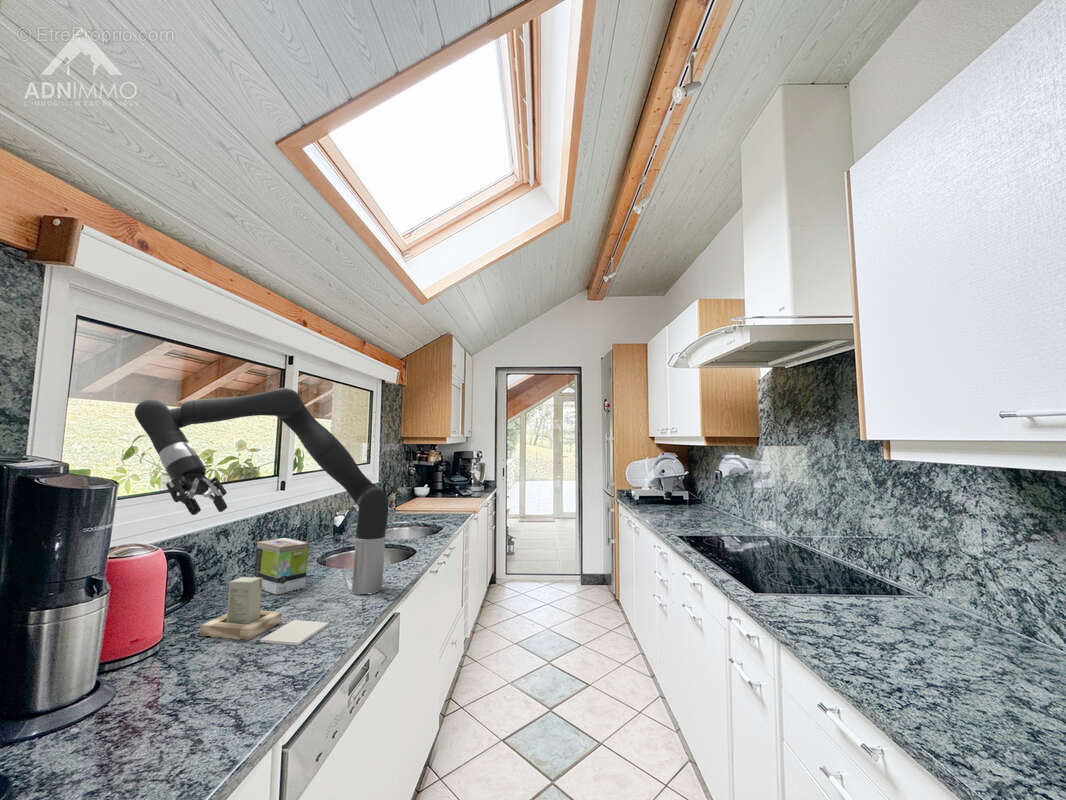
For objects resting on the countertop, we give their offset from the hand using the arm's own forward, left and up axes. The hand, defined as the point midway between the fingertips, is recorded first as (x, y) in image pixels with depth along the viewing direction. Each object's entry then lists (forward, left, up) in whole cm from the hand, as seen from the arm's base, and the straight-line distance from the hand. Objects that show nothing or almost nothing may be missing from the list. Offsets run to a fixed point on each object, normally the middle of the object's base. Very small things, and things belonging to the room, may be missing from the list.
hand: (210, 511), depth 113 cm
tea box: (-32, -3, -29) cm, 44 cm away
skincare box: (-1, +11, -29) cm, 31 cm away
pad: (-1, +26, -29) cm, 39 cm away
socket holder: (-1, +11, -29) cm, 31 cm away
